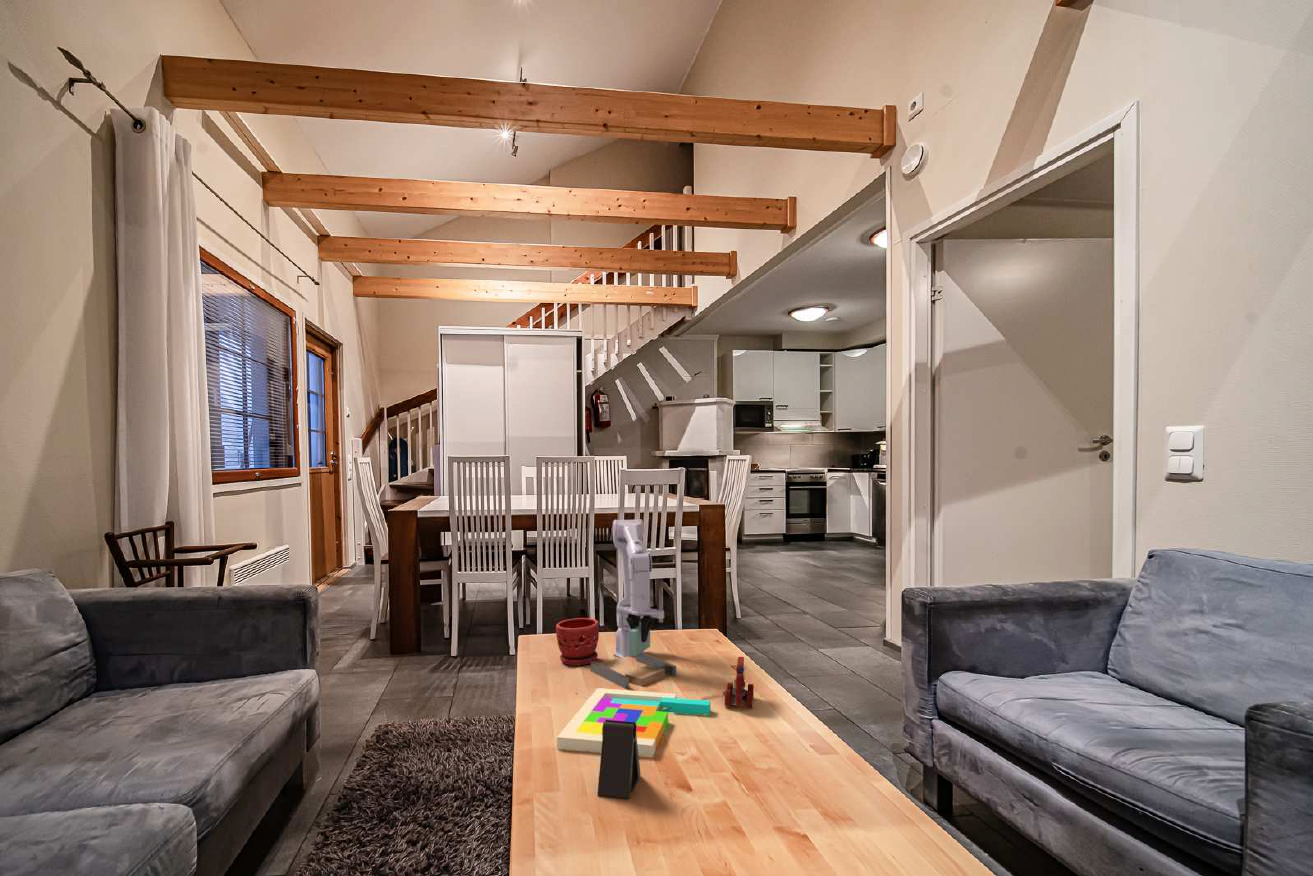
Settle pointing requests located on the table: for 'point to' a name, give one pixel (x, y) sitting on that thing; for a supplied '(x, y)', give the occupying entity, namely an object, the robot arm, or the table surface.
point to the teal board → (637, 641)
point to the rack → (624, 680)
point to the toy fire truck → (739, 689)
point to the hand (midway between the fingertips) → (640, 641)
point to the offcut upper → (645, 675)
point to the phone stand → (618, 759)
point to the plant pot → (578, 640)
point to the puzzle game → (625, 718)
